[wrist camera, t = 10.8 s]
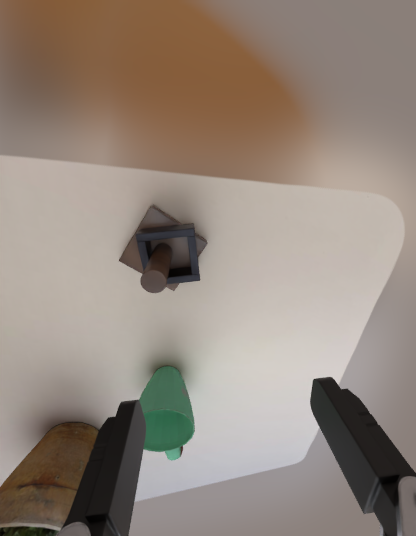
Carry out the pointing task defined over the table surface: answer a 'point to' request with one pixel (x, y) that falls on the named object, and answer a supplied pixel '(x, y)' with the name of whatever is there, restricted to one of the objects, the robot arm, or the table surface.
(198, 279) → the ring
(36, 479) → the potted plant
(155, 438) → the mug
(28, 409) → the table surface
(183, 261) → the post
